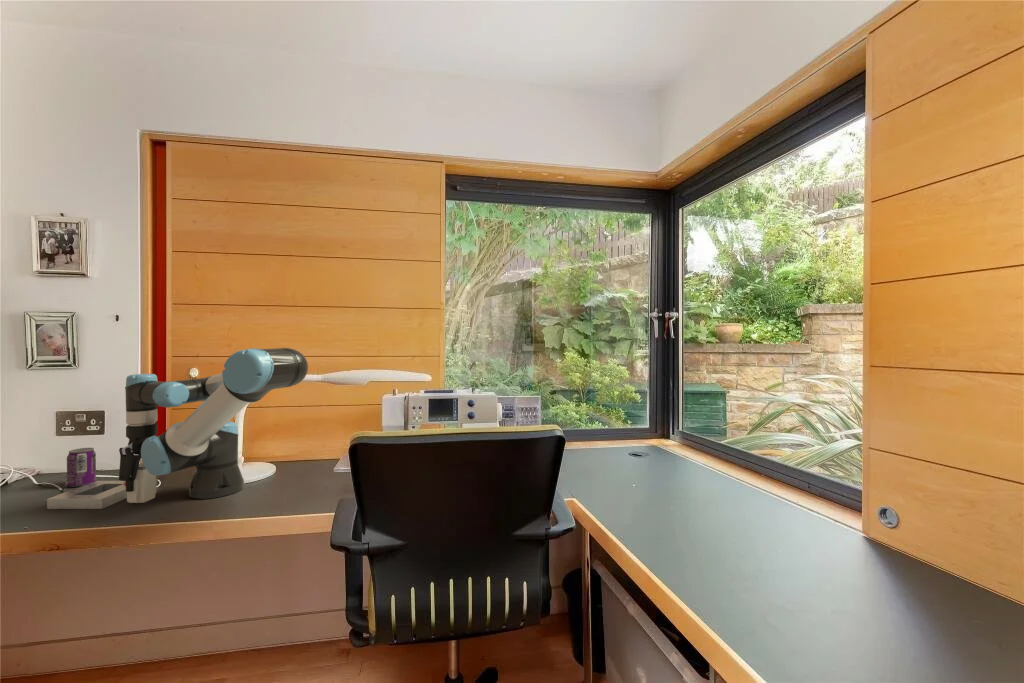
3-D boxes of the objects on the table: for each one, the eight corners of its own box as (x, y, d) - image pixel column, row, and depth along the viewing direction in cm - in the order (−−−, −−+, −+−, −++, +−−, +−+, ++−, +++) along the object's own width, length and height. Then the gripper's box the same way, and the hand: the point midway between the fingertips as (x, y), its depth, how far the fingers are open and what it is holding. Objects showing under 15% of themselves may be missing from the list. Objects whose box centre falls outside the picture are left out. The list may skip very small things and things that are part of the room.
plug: (155, 497, 138) (155, 462, 138) (143, 502, 134) (143, 467, 134) (140, 497, 138) (140, 462, 138) (128, 502, 134) (128, 467, 134)
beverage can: (101, 481, 153) (101, 447, 153) (82, 488, 146) (82, 452, 146) (80, 481, 153) (80, 447, 153) (60, 488, 146) (60, 452, 146)
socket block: (146, 489, 145) (146, 478, 145) (102, 508, 129) (102, 496, 129) (97, 489, 145) (97, 478, 145) (47, 508, 129) (47, 496, 129)
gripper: (154, 417, 146) (155, 486, 146) (100, 430, 126) (101, 509, 126) (177, 417, 146) (177, 486, 146) (127, 430, 126) (127, 509, 127)
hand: (142, 496), depth 136 cm, fingers open, 6 cm apart
